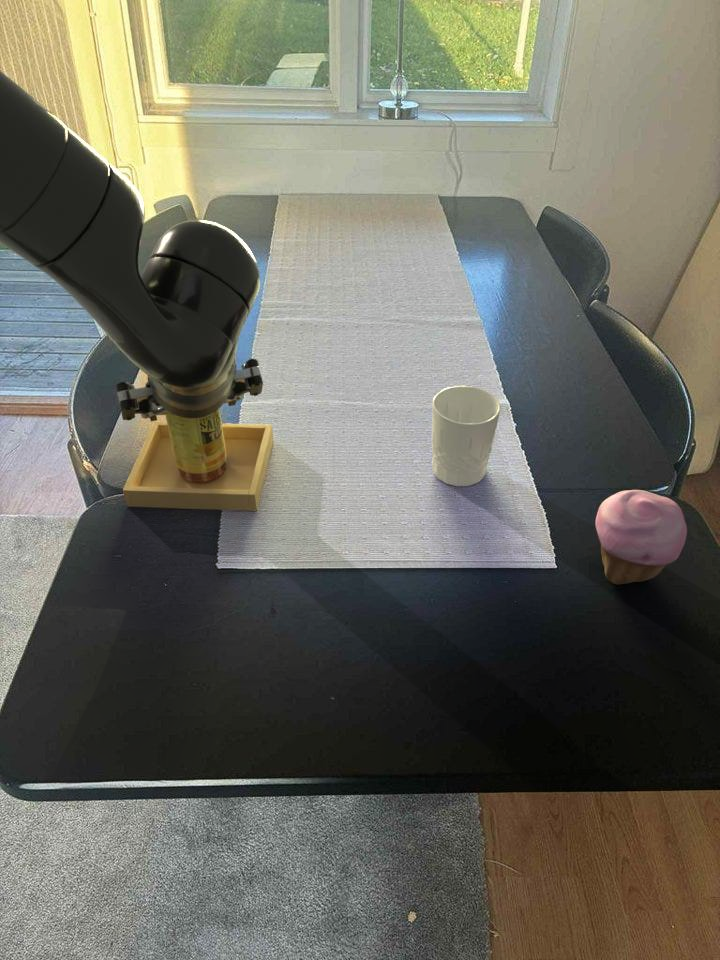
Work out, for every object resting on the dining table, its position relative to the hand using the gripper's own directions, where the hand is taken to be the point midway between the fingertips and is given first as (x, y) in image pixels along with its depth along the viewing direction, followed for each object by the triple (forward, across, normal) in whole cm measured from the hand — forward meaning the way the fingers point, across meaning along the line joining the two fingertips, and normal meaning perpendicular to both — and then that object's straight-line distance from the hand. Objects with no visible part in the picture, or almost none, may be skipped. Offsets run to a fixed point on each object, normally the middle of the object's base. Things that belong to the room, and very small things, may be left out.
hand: (191, 404), depth 77 cm
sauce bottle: (+11, 0, +6) cm, 13 cm away
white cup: (+4, -31, +14) cm, 34 cm away
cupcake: (-11, -40, +29) cm, 51 cm away
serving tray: (+12, 0, +6) cm, 13 cm away
